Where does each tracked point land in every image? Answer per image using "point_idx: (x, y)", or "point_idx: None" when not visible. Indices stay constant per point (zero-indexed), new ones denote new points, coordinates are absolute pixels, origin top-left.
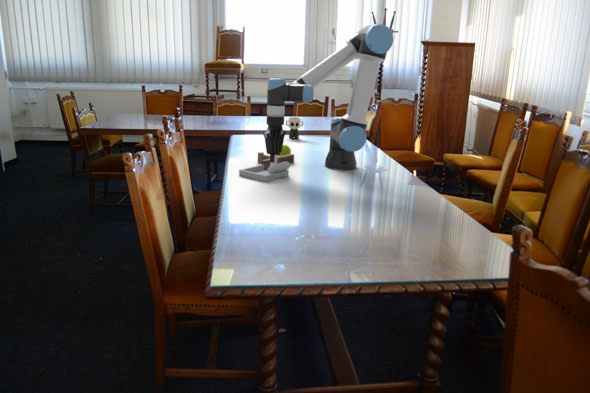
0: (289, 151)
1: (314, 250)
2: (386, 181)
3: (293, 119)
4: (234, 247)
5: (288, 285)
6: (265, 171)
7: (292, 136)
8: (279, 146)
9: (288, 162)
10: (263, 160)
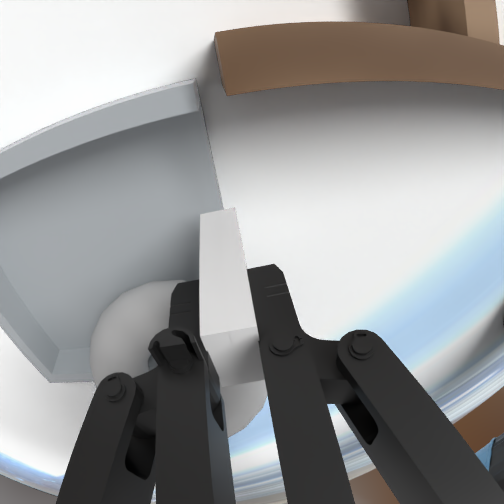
0: None
1: (55, 487)
2: None
3: None
4: None
5: (22, 483)
6: (165, 173)
7: None
8: (373, 445)
9: (233, 434)
10: (239, 55)
